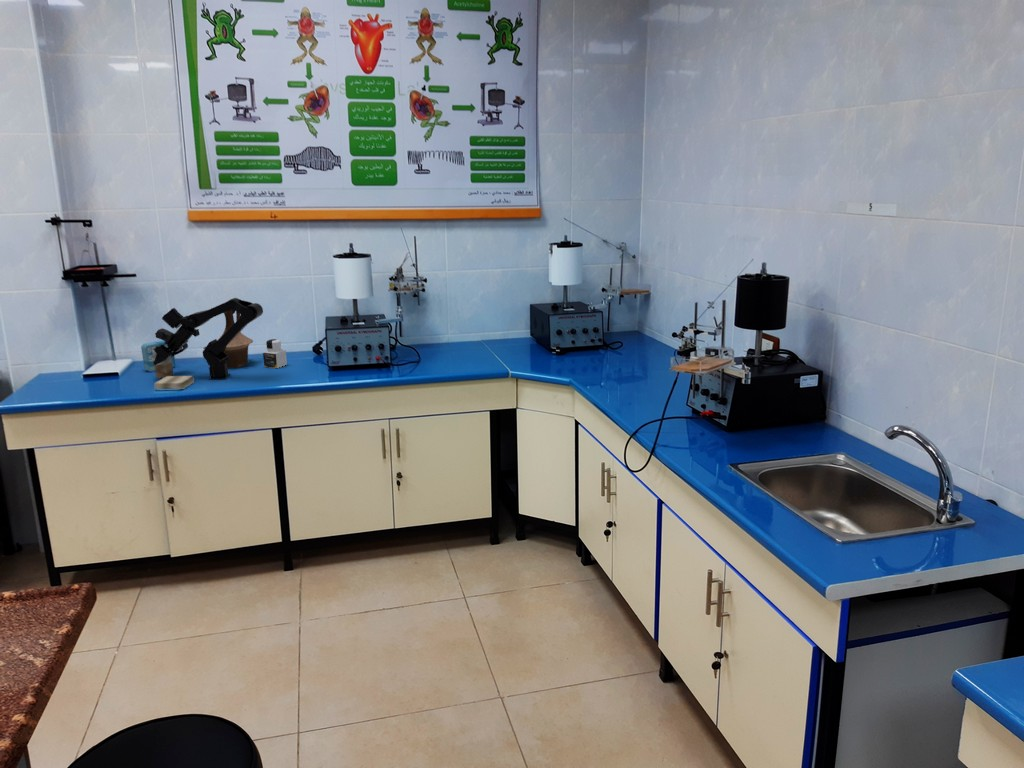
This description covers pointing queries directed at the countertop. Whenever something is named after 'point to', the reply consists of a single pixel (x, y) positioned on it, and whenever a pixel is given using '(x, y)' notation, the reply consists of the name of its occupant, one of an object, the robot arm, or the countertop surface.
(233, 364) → the pitcher
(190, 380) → the beige square block
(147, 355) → the data package
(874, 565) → the countertop surface
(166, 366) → the gray square block
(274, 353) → the medicine bottle
